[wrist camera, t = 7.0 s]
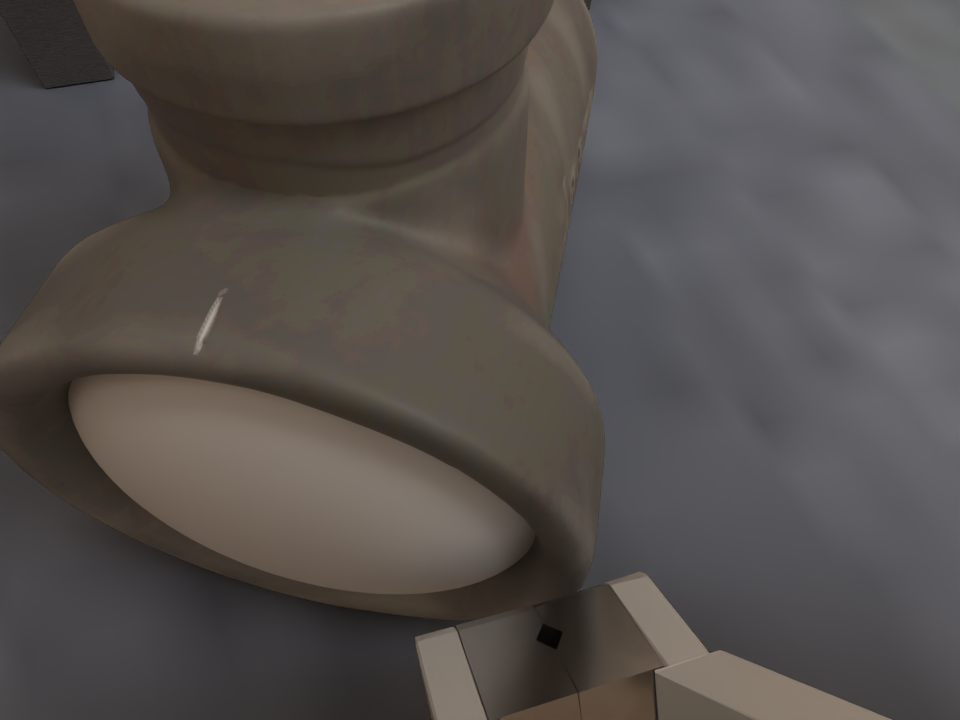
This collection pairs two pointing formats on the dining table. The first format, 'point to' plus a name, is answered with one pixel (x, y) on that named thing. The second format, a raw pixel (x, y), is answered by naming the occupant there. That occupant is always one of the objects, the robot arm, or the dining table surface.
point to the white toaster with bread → (59, 41)
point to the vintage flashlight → (332, 306)
